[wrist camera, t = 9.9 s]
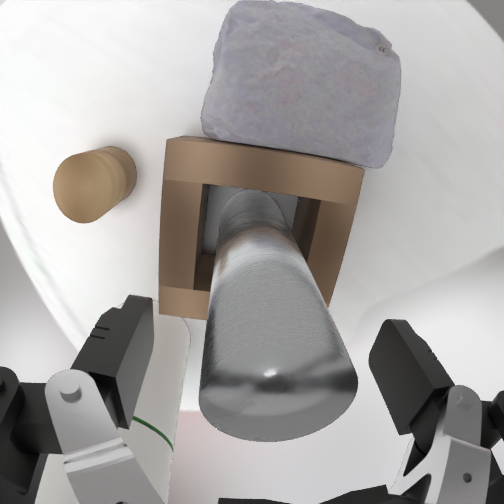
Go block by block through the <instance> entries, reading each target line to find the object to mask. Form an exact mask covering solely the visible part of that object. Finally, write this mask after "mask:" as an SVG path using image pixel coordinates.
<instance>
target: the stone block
mask: <svg viewBox="0 0 504 504" xmlns="http://www.w3.org/2000/svg"><path fill="white" fill-rule="evenodd" d="M391 47H392V44H391V43H390V42H389V41H388V40H387V39H386V38H385V37H384V36H383V35H382V34H381V33H380V32H379V31H378V30H376V29H374V28H368V27H362V26H360V25H358V24H356V23H355V22H354V21H352V20H351V19H350V18H347V17H345V16H342V15H340V14H337V13H335V12H332V11H328V10H324V9H320V8H314V7H311V6H308V5H304V4H302V3H293V2H279V3H277V2H275V1H273V0H269V1H262V0H241V1H238V2H237V3H236V4H235V5H234V6H233V7H231V8H230V10H229V12H228V14H227V15H226V17H225V20H224V22H223V25H222V28H221V31H220V33H219V39H218V41H217V42H216V44H215V48H214V51H213V56H214V58H213V61H214V69H213V71H212V72H213V77H212V79H211V82H210V87H209V88H208V91H207V93H206V96H205V100H204V105H203V108H202V111H201V122H202V128H203V132H204V134H206V135H207V136H208V137H210V139H215V140H219V141H228V142H236V143H243V144H249V145H256V146H263V147H269V148H276V149H282V150H289V151H296V152H302V153H309V154H314V155H319V156H324V157H328V158H333V159H338V160H343V161H347V162H350V163H354V164H357V165H361V166H366V167H370V168H380V167H382V166H383V165H384V164H385V163H386V161H387V160H388V158H389V156H390V154H391V151H392V142H393V138H394V126H395V121H396V114H397V109H398V101H399V96H400V87H401V66H400V60H399V56H398V55H397V54H396V53H395V52H394V51H392V50H391Z"/></svg>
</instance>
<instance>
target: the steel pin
mask: <svg viewBox="0 0 504 504" xmlns="http://www.w3.org/2000/svg"><path fill="white" fill-rule="evenodd" d="M357 389H358V377H357V374H356V372H355V368H354V366H353V364H352V362H351V359H350V357H349V355H348V352H347V350H346V348H345V346H344V343H343V341H342V339H341V337H340V334H339V332H338V330H337V328H336V325H335V323H334V321H333V319H332V317H331V314H330V312H329V310H328V308H327V306H326V304H325V301H324V299H323V297H322V295H321V293H320V291H319V289H318V286H317V284H316V282H315V280H314V278H313V276H312V274H311V272H310V270H309V268H308V266H307V263H306V261H305V259H304V257H303V255H302V253H301V251H300V249H299V247H298V245H297V243H296V241H295V239H294V237H293V235H292V233H291V231H290V229H289V227H288V225H287V223H286V221H285V219H284V217H283V215H282V213H281V211H280V209H279V207H278V205H277V203H276V202H275V200H274V199H273V198H272V197H271V196H270V195H268V194H267V193H265V192H263V191H260V190H253V189H248V190H243V191H240V192H238V193H236V194H234V195H233V196H231V197H230V198H229V199H228V200H227V202H226V203H225V205H224V207H223V210H222V214H221V220H220V227H219V234H218V241H217V248H216V255H215V262H214V269H213V277H212V284H211V292H210V300H209V308H208V316H207V324H206V333H205V341H204V350H203V359H202V369H201V378H200V388H199V406H200V410H201V412H202V414H203V416H204V417H205V418H206V419H207V421H208V422H209V423H210V424H211V425H213V426H214V427H215V428H217V429H218V430H220V431H222V432H224V433H225V434H228V435H230V436H233V437H236V438H240V439H244V440H249V441H257V442H277V441H285V440H291V439H295V438H299V437H303V436H306V435H309V434H311V433H314V432H316V431H318V430H320V429H322V428H324V427H326V426H328V425H329V424H331V423H332V422H333V421H335V420H336V419H337V418H339V417H340V416H341V415H342V414H343V413H344V412H345V411H346V410H347V409H348V408H349V406H350V405H351V403H352V402H353V400H354V398H355V396H356V392H357Z"/></svg>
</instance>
